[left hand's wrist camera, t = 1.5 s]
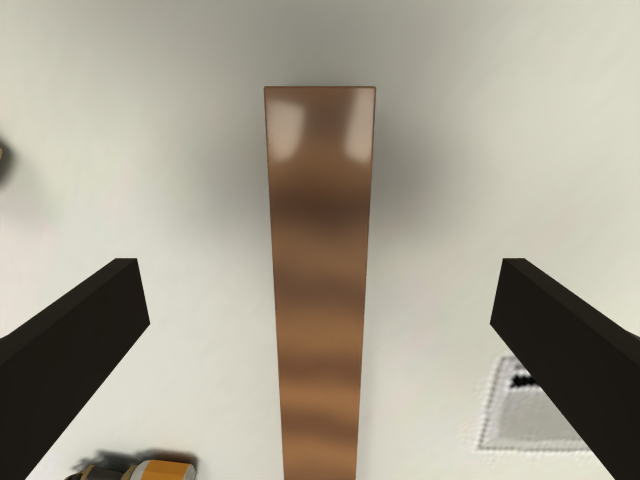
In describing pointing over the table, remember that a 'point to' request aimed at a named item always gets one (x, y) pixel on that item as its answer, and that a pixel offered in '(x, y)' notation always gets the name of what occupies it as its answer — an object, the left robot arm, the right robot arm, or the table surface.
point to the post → (319, 268)
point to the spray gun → (140, 472)
